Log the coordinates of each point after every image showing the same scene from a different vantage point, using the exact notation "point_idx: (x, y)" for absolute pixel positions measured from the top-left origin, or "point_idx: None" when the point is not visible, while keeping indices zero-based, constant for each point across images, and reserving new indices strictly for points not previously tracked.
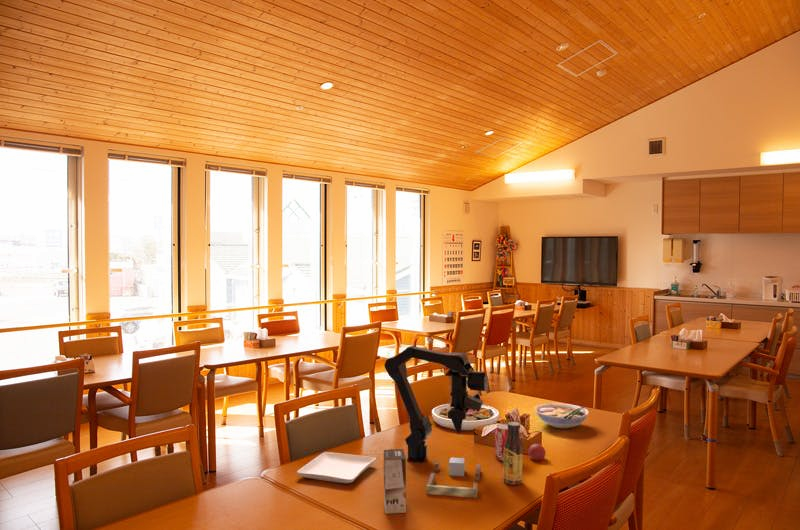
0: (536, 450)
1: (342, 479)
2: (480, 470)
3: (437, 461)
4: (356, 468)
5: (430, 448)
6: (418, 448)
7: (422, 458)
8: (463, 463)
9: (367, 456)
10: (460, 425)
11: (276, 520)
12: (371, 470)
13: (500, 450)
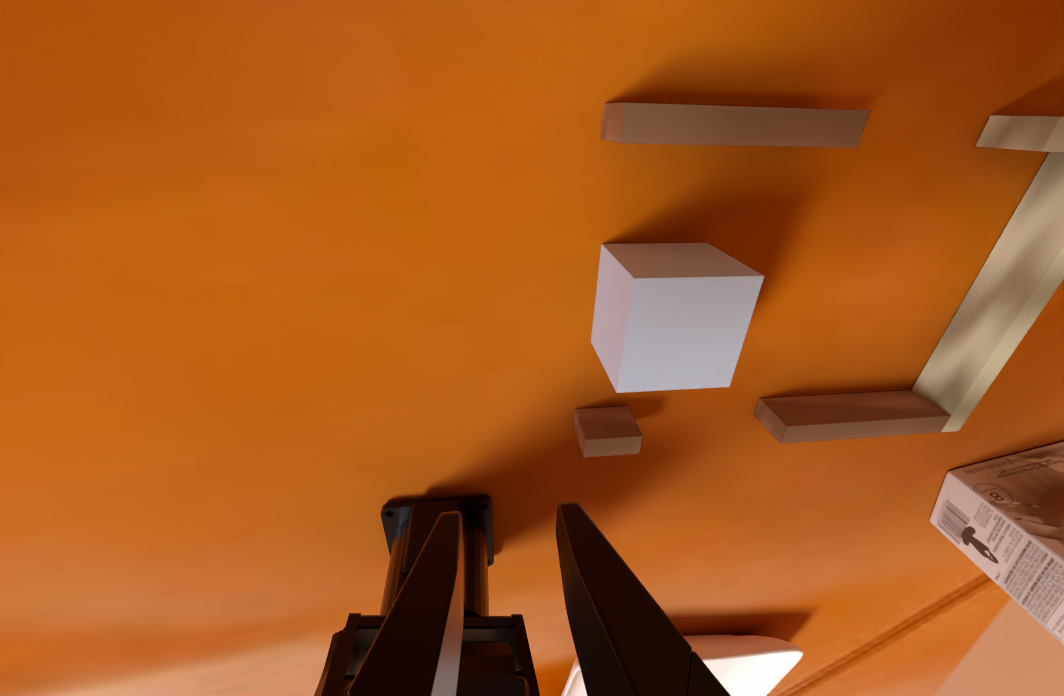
0: None
1: (786, 666)
2: (609, 103)
3: (589, 447)
4: None
5: (219, 510)
6: (483, 591)
7: (466, 515)
8: (762, 277)
9: (569, 687)
10: (674, 644)
11: (947, 663)
12: None
13: None
